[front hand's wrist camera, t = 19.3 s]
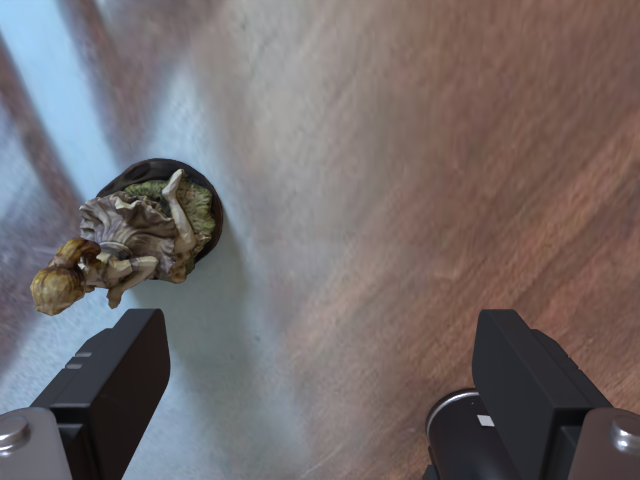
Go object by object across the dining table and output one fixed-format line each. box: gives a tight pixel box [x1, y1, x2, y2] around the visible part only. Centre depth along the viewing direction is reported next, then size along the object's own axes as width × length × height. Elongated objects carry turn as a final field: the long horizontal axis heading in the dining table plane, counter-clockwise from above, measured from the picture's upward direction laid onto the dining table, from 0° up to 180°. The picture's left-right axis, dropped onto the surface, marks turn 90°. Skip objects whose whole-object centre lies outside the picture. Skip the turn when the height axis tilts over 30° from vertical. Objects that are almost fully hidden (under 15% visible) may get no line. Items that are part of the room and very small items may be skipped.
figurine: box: [30, 158, 223, 316], centre depth 32 cm, size 12×11×15 cm
